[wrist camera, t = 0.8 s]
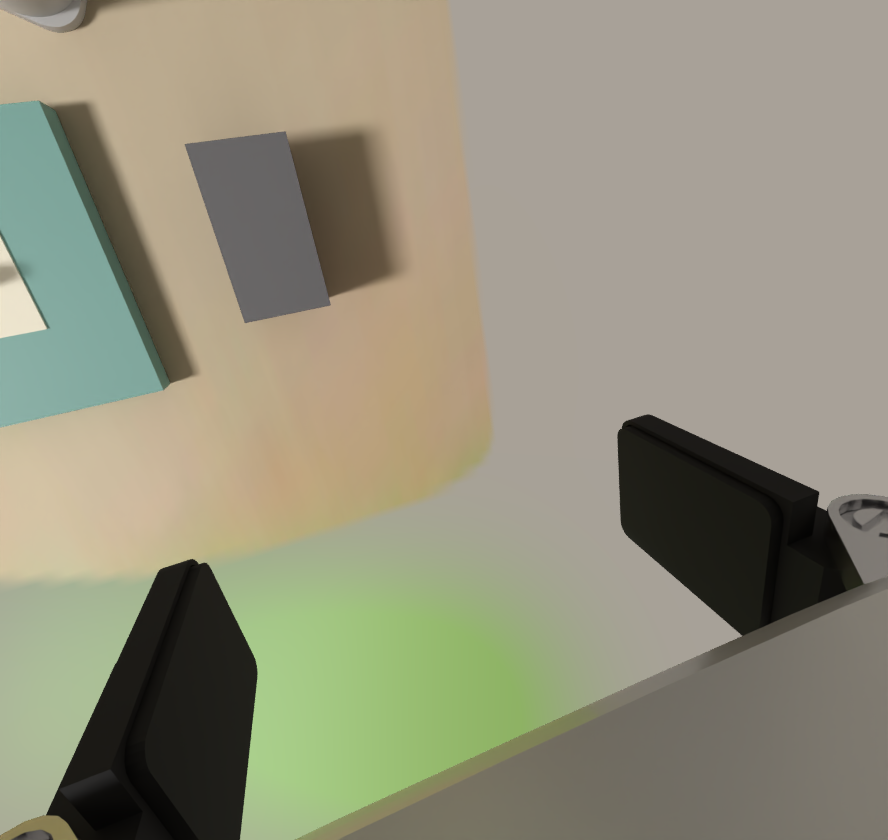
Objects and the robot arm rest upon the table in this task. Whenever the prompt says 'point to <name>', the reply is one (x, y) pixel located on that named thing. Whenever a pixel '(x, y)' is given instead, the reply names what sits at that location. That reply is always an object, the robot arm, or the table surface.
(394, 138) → the table surface
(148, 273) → the table surface
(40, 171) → the board
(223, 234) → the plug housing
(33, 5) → the phone holder
